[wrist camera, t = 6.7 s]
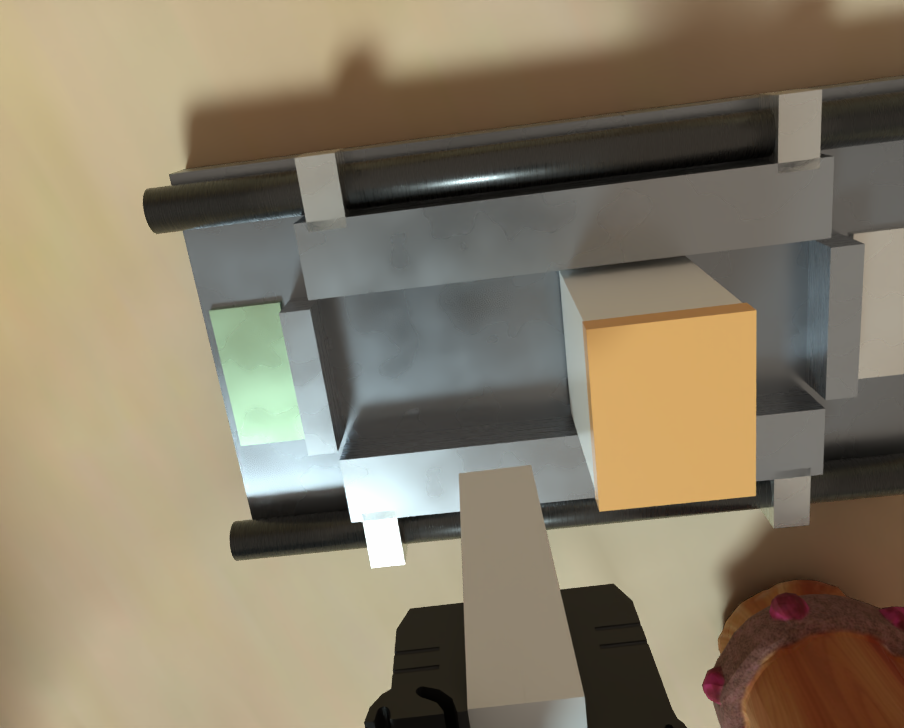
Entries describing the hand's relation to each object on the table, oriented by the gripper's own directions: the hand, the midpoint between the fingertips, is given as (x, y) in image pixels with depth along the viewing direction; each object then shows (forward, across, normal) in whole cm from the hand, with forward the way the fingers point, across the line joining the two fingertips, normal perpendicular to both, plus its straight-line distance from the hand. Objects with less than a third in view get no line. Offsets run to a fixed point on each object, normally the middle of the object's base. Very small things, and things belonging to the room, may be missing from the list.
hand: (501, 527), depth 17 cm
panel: (+12, +3, 0) cm, 13 cm away
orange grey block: (+11, +5, 0) cm, 12 cm away
